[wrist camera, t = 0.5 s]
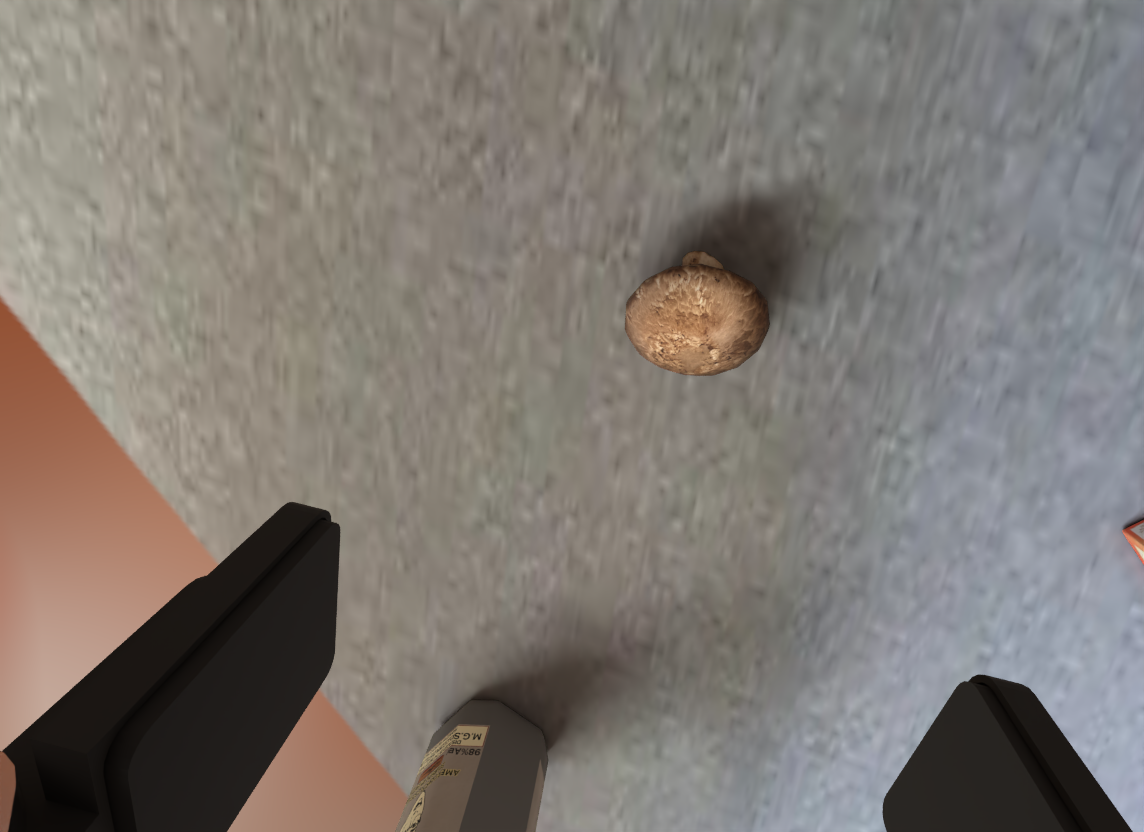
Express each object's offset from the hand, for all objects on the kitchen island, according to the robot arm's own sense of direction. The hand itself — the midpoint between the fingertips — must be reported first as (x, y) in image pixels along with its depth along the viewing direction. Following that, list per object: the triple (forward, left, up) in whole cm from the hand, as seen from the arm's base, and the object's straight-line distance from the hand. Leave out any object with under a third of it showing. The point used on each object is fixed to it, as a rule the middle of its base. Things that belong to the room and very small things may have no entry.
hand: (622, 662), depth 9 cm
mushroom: (-2, +3, -30) cm, 30 cm away
